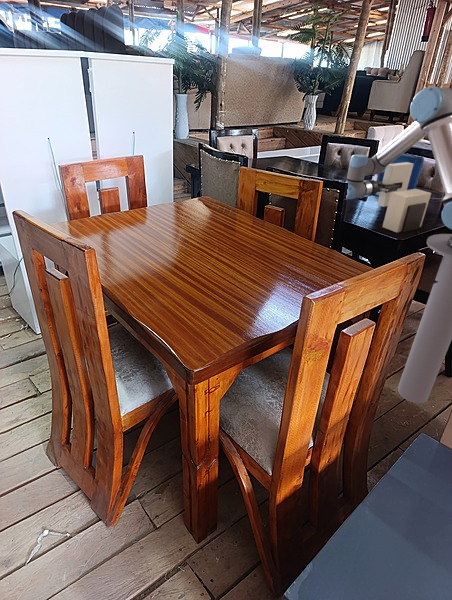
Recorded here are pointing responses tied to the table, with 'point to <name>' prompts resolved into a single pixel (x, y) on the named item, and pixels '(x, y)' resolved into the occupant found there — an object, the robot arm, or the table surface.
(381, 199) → the cream book
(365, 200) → the table surface
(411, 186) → the book
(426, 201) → the cream upright block
